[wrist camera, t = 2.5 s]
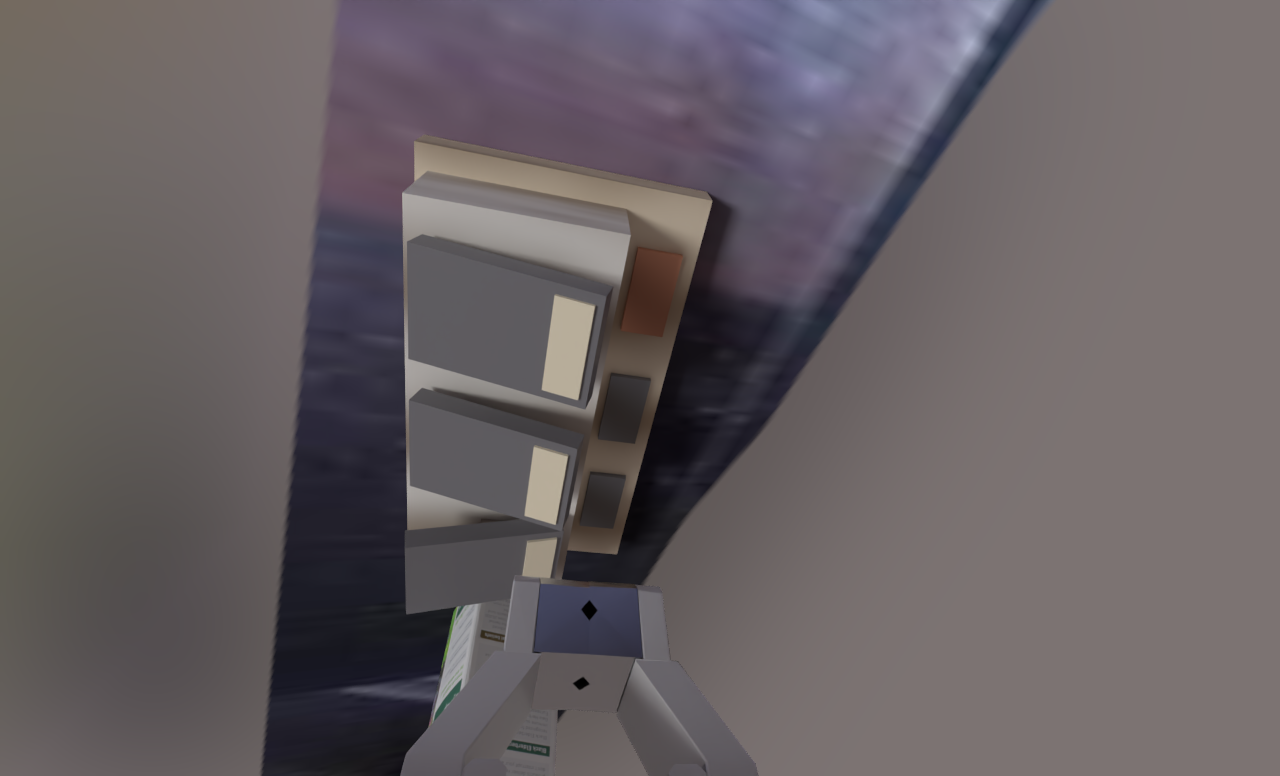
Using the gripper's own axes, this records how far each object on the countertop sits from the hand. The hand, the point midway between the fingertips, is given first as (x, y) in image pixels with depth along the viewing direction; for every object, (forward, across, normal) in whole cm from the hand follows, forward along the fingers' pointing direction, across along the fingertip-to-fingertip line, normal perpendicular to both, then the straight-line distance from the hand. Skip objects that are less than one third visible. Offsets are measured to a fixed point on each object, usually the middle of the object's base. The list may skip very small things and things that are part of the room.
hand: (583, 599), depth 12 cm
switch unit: (+18, +2, +6) cm, 19 cm away
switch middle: (+11, +3, +6) cm, 13 cm away
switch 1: (+11, +3, 0) cm, 12 cm away
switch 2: (+11, +3, +13) cm, 17 cm away
